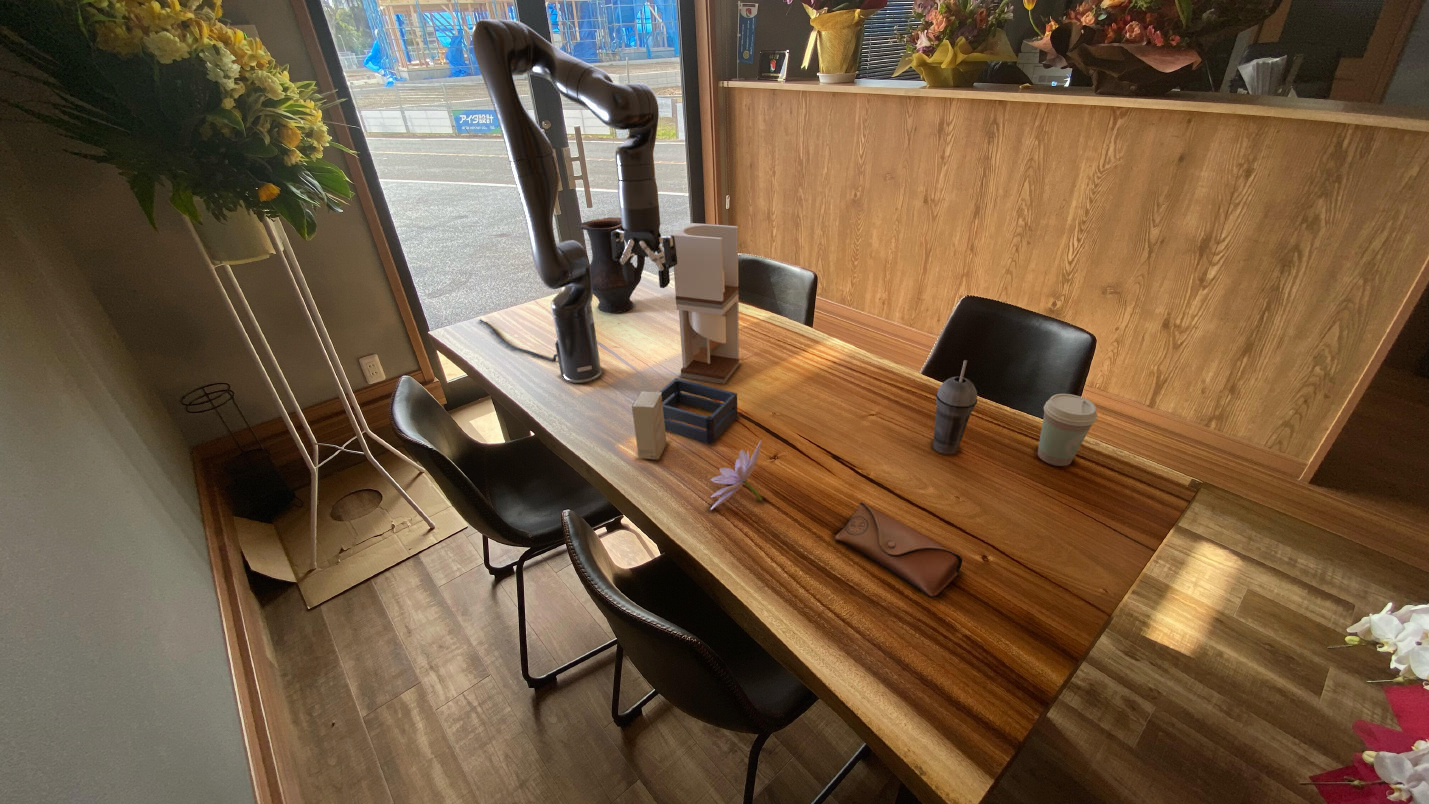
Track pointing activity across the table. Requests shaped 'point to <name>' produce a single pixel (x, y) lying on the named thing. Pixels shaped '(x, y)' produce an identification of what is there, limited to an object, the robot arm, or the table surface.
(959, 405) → the beverage cup
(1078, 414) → the coffee cup
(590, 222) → the jug
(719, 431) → the crate
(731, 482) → the water lily
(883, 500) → the table surface
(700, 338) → the two-tier display stand
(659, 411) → the cosmetic box
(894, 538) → the sunglasses case
